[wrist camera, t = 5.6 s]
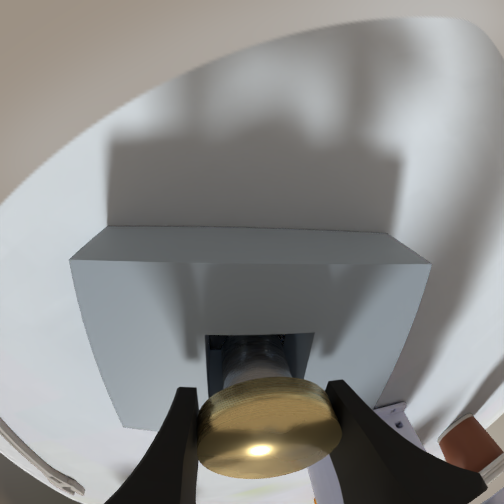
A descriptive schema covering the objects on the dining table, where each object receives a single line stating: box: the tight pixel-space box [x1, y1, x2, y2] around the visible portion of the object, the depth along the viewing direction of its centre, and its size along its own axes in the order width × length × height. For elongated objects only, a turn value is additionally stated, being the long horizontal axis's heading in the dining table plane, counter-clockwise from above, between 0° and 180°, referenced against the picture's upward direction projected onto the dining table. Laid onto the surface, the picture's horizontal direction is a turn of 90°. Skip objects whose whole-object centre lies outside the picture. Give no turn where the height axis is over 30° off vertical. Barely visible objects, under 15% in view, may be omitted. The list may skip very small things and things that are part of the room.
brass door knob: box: [197, 334, 342, 479], centre depth 10 cm, size 5×5×6 cm
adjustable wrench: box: [0, 418, 85, 496], centre depth 21 cm, size 25×6×2 cm, turn 5°
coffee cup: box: [437, 413, 504, 485], centre depth 21 cm, size 9×9×12 cm
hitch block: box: [69, 226, 432, 432], centre depth 13 cm, size 14×10×4 cm
